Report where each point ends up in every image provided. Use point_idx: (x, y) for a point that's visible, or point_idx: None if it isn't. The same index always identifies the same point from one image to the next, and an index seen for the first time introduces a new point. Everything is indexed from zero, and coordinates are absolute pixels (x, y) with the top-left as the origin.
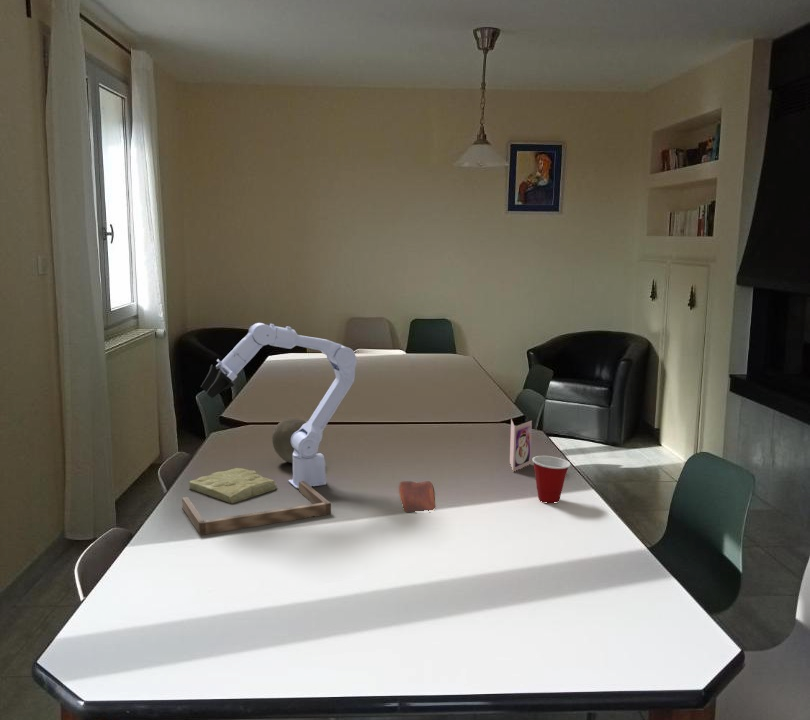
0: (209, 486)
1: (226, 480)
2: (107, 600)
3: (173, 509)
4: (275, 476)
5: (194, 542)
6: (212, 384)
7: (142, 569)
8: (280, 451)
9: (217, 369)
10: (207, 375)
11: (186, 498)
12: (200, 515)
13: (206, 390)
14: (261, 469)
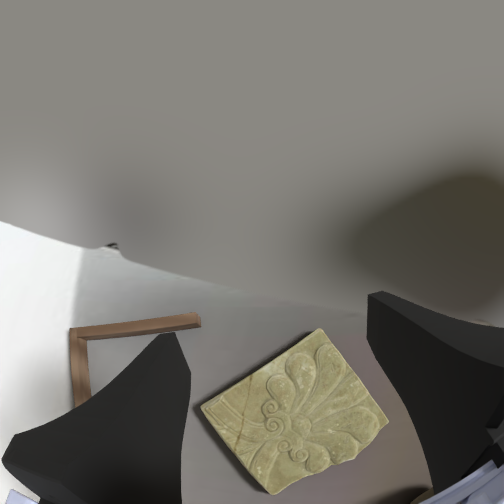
0: (269, 369)
1: (295, 405)
2: (6, 237)
3: (198, 301)
4: (353, 489)
5: (62, 321)
6: (134, 376)
7: (31, 261)
8: (418, 500)
9: (488, 436)
10: (452, 323)
11: (188, 320)
12: (97, 334)
13: (369, 339)
14: (405, 459)
